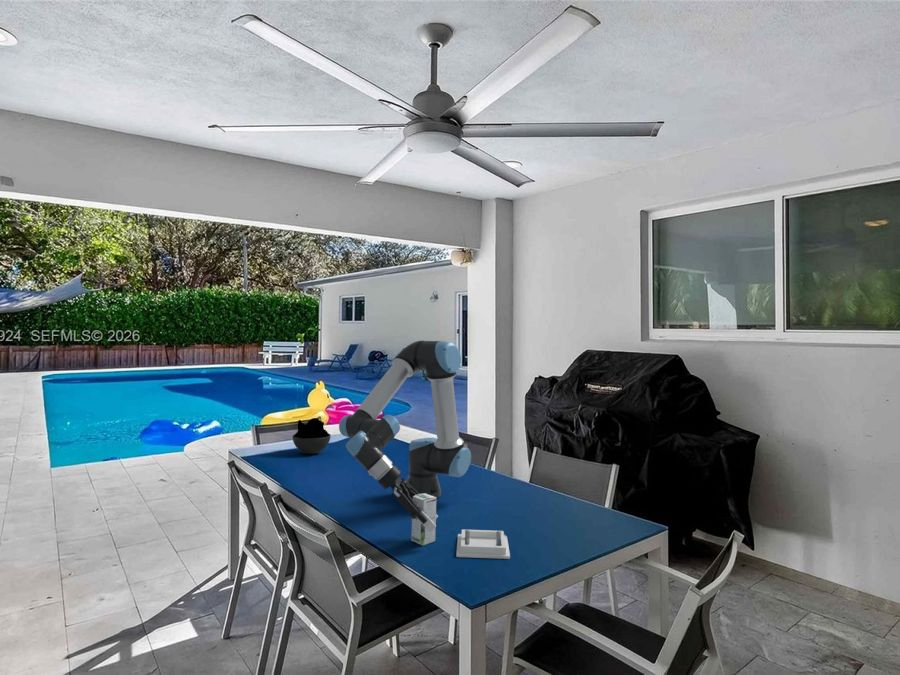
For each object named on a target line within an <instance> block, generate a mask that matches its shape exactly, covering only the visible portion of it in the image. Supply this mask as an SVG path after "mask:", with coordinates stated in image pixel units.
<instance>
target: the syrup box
mask: <svg viewBox="0 0 900 675" xmlns="http://www.w3.org/2000/svg"><path fill="white" fill-rule="evenodd" d="M413 501H414V502H415V504H416V505H417V506H418V508H419V509H420V510H421V511H423V512H424V513H425V514H426V515H427V516H428V517H429V518H430V519H431V520H432V521H433V523H434V524H435V525H436V523H437V519H436V514H437V498H436V497H434V496H431V495H428V494H426V493H423V494H418V495H415V496H413ZM436 527H437V525H436ZM436 527H435V528H434V529H433V530H432V531H431V532H429V531H428V530H427V529H426V528H425V527H424V525H423V524H422V523H421V522H420V521H419V520H418V519H417V518H416V517H415V518H414V519H413V518H412V517H411V542H415V543H416V544H419V545H420V546H422V547H423V546H426V545H429V544H431V543H433V542H434V543H435V541H436Z"/></svg>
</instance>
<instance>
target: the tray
mask: <svg viewBox="0 0 900 675" xmlns="http://www.w3.org/2000/svg"><path fill="white" fill-rule="evenodd" d="M509 546H510V545H509V541H508V536H507V535H505V533H504V530H487V529H483V530H482V529H461V533H457V543H456V558H474V559H477V558H479V559H499V560H501V559H504V560H510V559H511V552H510V548H509Z"/></svg>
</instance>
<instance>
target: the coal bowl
mask: <svg viewBox="0 0 900 675" xmlns="http://www.w3.org/2000/svg"><path fill="white" fill-rule="evenodd" d="M297 421H298V422H297V431H296V433H294V434H293V435H292V441H293V444H294V446H295V448H296V449H297V450H298V451H300V453H301V452H302V453H304V454H308V455H314V454H318V453H320V452H323V450H324V449H326V448H327V446H328V445H329V443H330V441H331V434H330V433H329V432H328V431H327V430H326V429H324V428H325V427H324V426H325V422H324V421H322V420H319V419H318V418H315V417H313V418H311V419H309V420H308V421H307V423H306V424H305V423H303V422H302V419H298V420H297Z"/></svg>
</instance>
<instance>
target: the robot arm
mask: <svg viewBox="0 0 900 675" xmlns="http://www.w3.org/2000/svg"><path fill="white" fill-rule="evenodd" d="M461 364H462V356H461V351H460V349H459V347H458V346H457V345H456V344H455V343H454V342H452V341H446V340H445V341H444V340H417V341H414V342H412V343H410V344H408V345H407V346H406V347H404V348H403V349H401V351H399V353H398V354H396V356H395V357H394V358H393V360H392V361H391V365H390V367H389V368H388V370H387V371H386V372H385V374H384V375H383V376H382V377H381V378H380V380H379V381H378V383H376V385H375V386H374V388H373V389H371V391H370V393H369V394H368V395H367V396H366V397H365V399H364V400H363V401H362V402H361V404H360V405H359V406H358V408H356V410H355V411H354V413H353V414H352V415H350V414H349V415H344V416H343V417H342V418H341V419H340V421H339V424H338V430H339V432H340V434H341V435H342V436H344V437H346V438H349V440H348V441H347V443H346V444H345V448H346V450H347V451H348V453H350V455H351V456H352V457H353V458H354V459H355V460H356V461H357V462H358V463H359V464H360V465H361V466H362V467H363V468H364V469H365V470H366V471H367V472H368V475H369V477H370V476H371V477H373V478H374V480H377V482H378V484H379V485H380V486H381V487H382V488H383V489H384V490H387V489H389V488H391V490H392V497H394V498H395V499H396V500H397V501H398V503H400V505H401V506H402V507H403V508H404V510H405V511H407V513H408V514H409V515H410V516H411V519H412V518H413V519H414V518H415V517H416V518H417V519H418V520H419V521H420V522H421V523H422V524H423V525H424V527H425V528H426V529H427V530H428V531H429V532H431V531H432V530H433V529H434V528H435V527H437V525H435V524H434V523H433V521H432V520H431V519H430V518H429V517H428V516H427V515H426V514H425V513H424V512H423V511H421V510H420V509H419V508H418V506H417V505H416V504H415V502H414V501H413V496H415V495H418V494H423V493H426V494H428V495H431V496H434V497H436V499H438V498H440V497H441V496H442V490H441V486H440V485H441V484H440V481H439V478H438V474H441V475H445V476H448V477H449V476H450V477H456V478H461V477H462V476H465V474H466V473H467V471H468V469H469V467H470V465H471V461H472V453H471V450H470V449H469V448H468V447H465V443H464V439H463V438H462V437H460V435H459V434H460V433H459V426H458V424H459V423H458V415H457V406H456V397H455V396H456V395H455V394H456V393H455V387H454V378H455V377H456V376H457V372H458V371H459V369H460V368H461ZM419 371H424V372H425V377H426V379H427V380H429V381H430V385H431V395H432V402H433V404H432V405H433V413H434V419H435V428H436V437H422V438H417V439H413V440H411V441H410V442H409V448H408V449H409V450H408V477H407V480H406V478H404V477H402V478H400V477H401V475H402V471H401V470H400V469H399V468H398V467H397V466H396V465H395V464H393V461H392V460H391V459H390V458H389V457H388V456H387V455H386V454H385V452H383V451H382V450H383V449H384V448H385V447H386V446H387V445H388V444H389V443H390V442H391V441H392V440H394V439H395V437H396V435H397V434H398V433H399V432H400V430H401V425H400V422H399V420H398V419H397V418H396V417H395V416H393V415H391V414H386V415H383V416H382V417H381V418H380V419H377V418H378V417H379V416H380V414H381V413H382V412H383V410H384V409H385V408H386V406H387V405H389V403H390V401H391V400H392V399H393V397H394V395H395V394H397V392H398V391H399V389H400V388H401V387H402V386H403V384H404V383H405V381H406V380H407V379H408V378H411V377H412V376H413V375H414V374H415V373H416V372H419ZM438 517H439V515H438V514H437V513H436V520H437V519H438Z"/></svg>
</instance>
